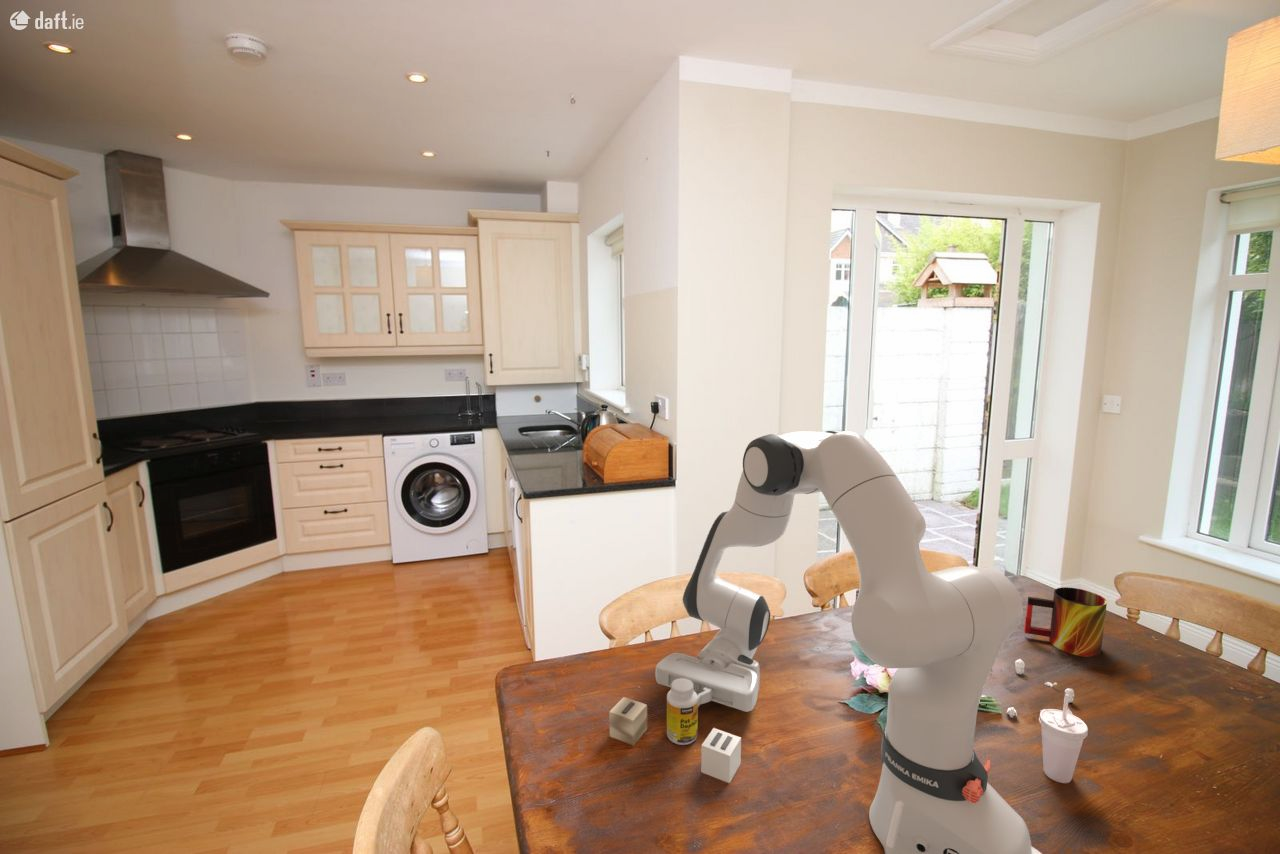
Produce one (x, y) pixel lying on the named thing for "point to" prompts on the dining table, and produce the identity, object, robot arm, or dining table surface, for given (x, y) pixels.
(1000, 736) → the dining table surface
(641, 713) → the marked birch block
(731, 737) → the marked off-white block
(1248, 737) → the dining table surface
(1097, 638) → the mug
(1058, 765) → the smoothie
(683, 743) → the supplement bottle
